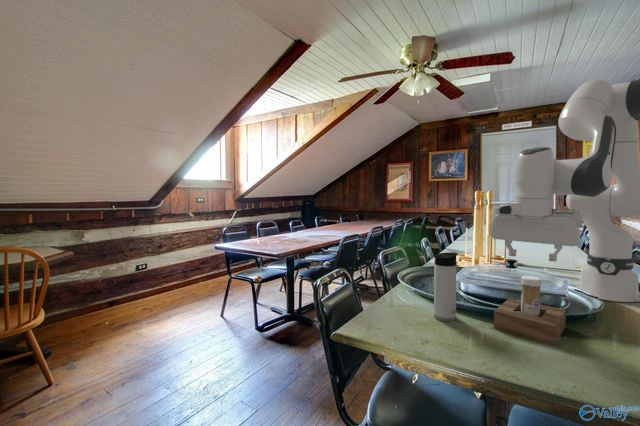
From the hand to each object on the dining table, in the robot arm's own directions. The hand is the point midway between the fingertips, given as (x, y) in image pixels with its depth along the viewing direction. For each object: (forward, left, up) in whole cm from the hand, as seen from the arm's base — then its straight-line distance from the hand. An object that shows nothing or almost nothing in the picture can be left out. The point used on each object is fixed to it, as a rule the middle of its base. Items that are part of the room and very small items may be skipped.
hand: (531, 258), depth 88 cm
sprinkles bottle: (0, 0, -19) cm, 19 cm away
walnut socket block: (0, 0, -20) cm, 20 cm away
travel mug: (+9, -20, -20) cm, 30 cm away
